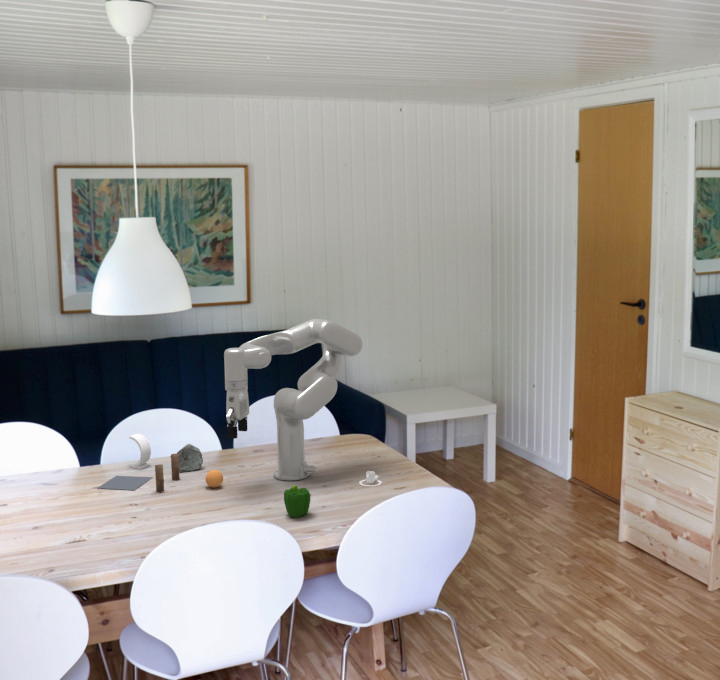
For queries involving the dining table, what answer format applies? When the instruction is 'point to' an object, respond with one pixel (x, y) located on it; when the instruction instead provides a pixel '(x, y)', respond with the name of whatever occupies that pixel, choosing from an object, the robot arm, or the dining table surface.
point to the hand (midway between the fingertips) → (237, 434)
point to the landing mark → (125, 483)
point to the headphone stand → (142, 451)
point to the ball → (214, 478)
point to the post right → (175, 466)
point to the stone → (189, 458)
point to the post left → (159, 478)
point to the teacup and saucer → (371, 479)
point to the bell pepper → (297, 501)
